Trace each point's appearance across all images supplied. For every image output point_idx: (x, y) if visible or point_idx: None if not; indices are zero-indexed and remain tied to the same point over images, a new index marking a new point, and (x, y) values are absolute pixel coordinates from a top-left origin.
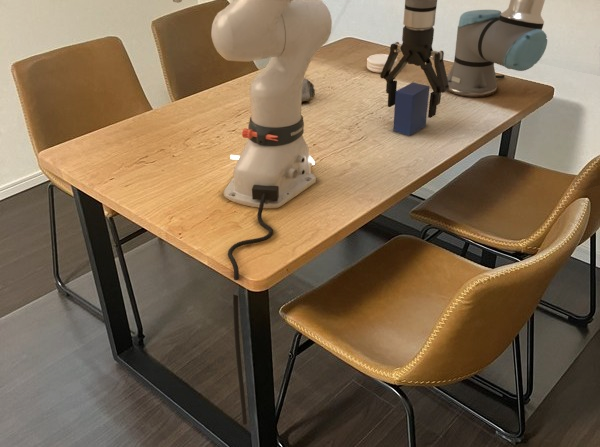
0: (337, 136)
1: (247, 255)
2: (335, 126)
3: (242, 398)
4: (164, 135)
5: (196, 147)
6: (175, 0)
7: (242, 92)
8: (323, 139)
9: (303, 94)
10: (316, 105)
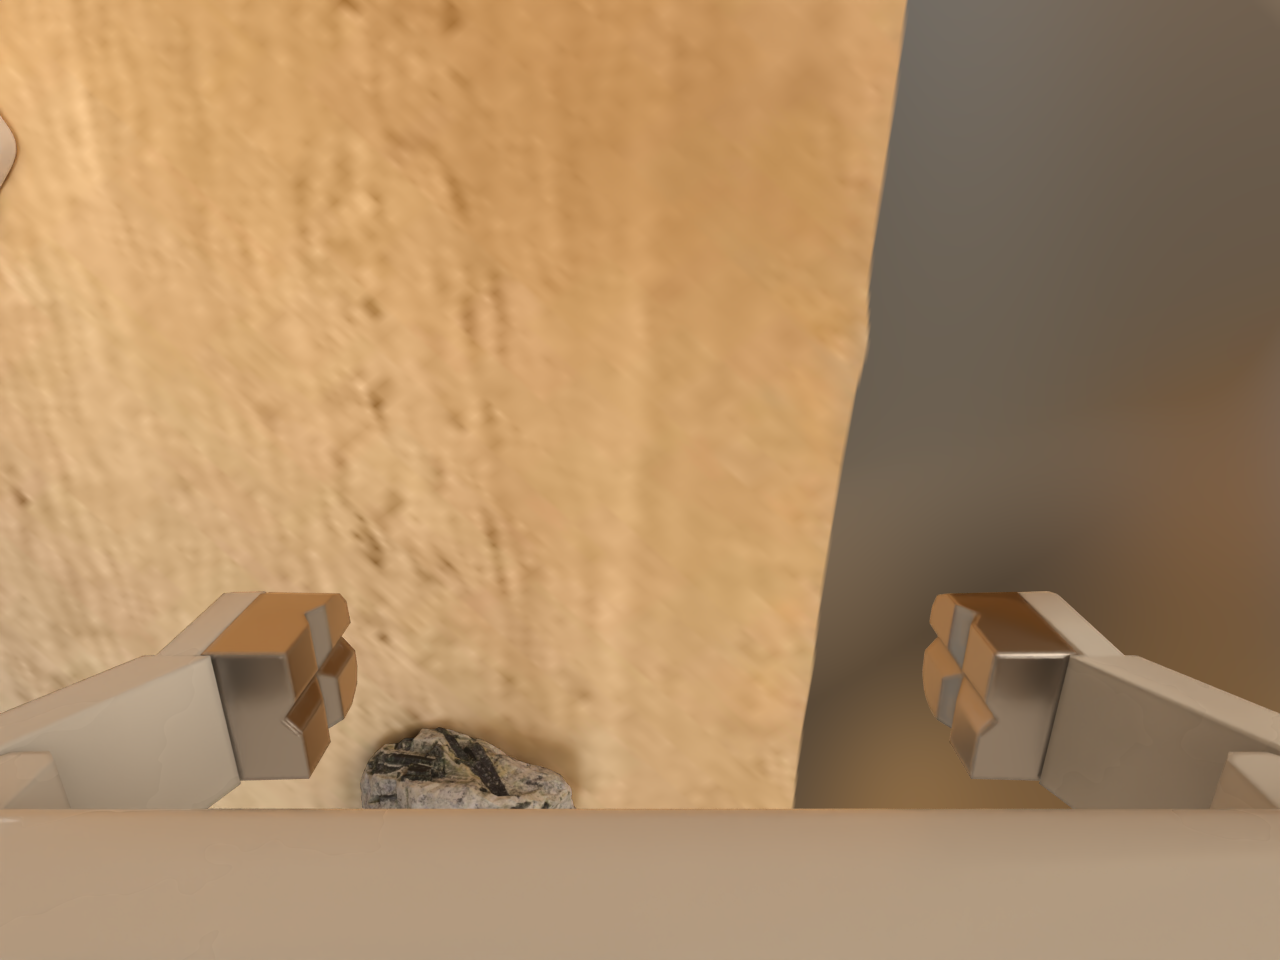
0: (31, 608)
1: None
2: None
3: None
4: (585, 155)
5: (351, 156)
6: (248, 600)
7: (676, 717)
8: (42, 557)
9: (365, 792)
10: (331, 776)
